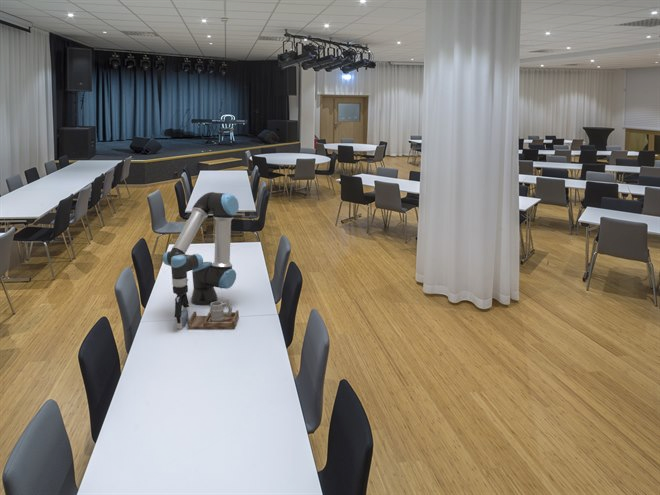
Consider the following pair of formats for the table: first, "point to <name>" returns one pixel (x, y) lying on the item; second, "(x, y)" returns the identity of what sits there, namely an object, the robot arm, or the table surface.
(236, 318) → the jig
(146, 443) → the table surface
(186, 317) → the blue-grey rectangular block
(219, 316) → the mug
